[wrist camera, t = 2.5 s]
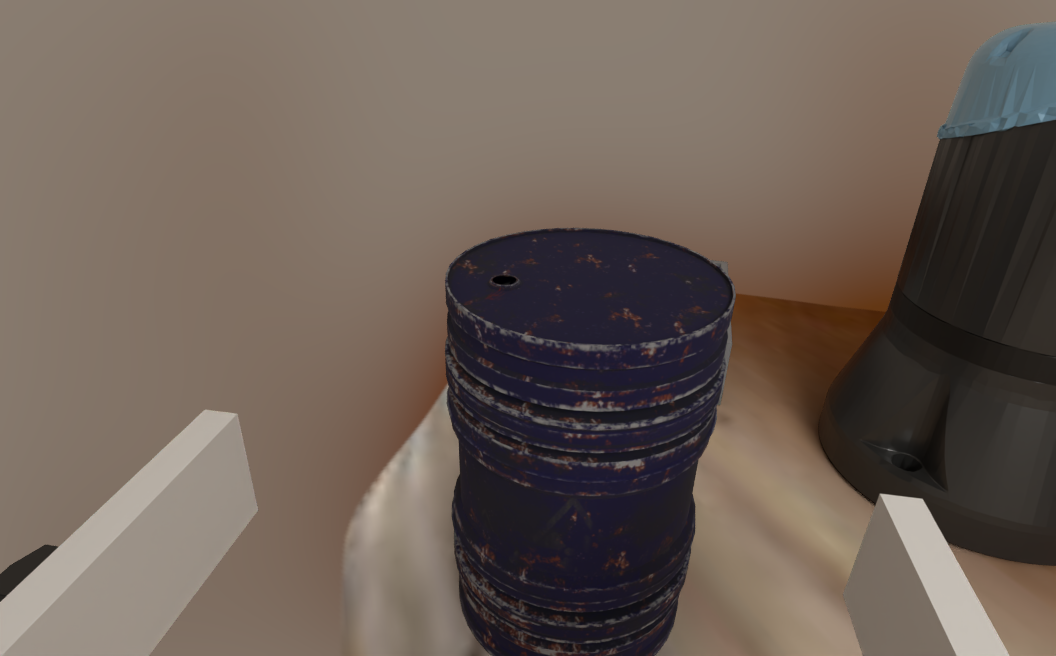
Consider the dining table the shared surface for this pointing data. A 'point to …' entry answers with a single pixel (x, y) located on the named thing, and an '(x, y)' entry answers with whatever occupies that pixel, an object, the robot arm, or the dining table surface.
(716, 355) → the dark blue ribbed cylinder
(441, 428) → the dining table surface
